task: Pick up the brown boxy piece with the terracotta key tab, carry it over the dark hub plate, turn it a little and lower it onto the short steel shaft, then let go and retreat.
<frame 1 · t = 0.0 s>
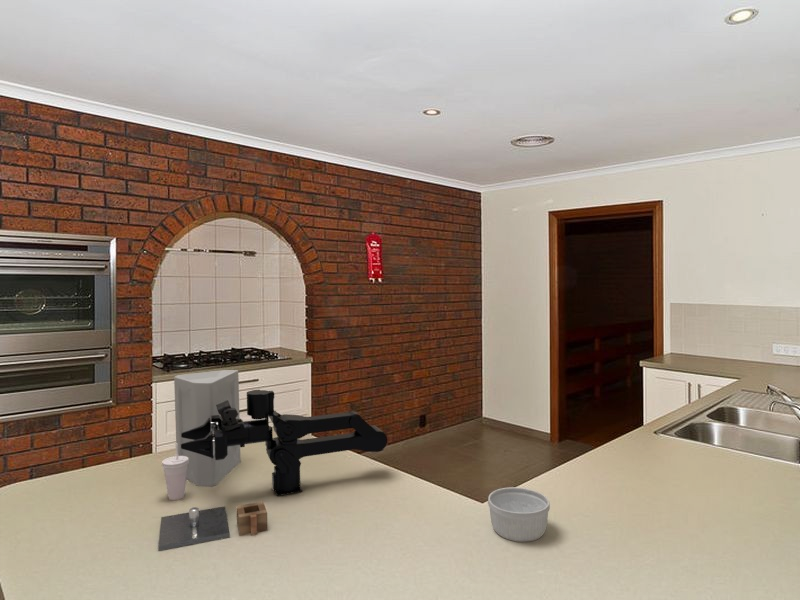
hand: (181, 440, 126), 17 cm above the countertop, tool horizontal, fingers open, 9 cm apart
ramekin: (518, 530, 115), on the countertop
brown boxy piece: (251, 526, 117), on the countertop
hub: (194, 528, 116), on the countertop
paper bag: (203, 473, 150), on the countertop
smoothie: (176, 497, 133), on the countertop
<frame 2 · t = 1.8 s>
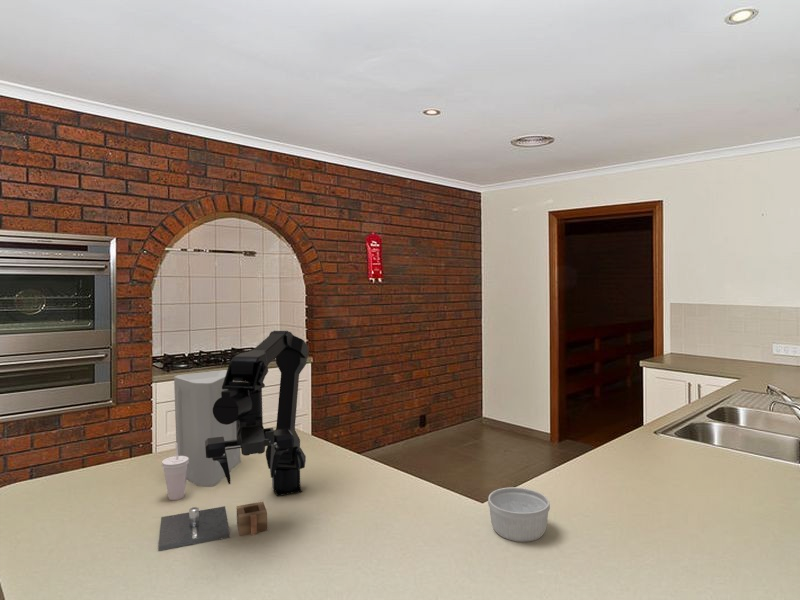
hand: (250, 480, 117), 11 cm above the countertop, tool pointing down, fingers open, 9 cm apart
nothing on the countertop moved.
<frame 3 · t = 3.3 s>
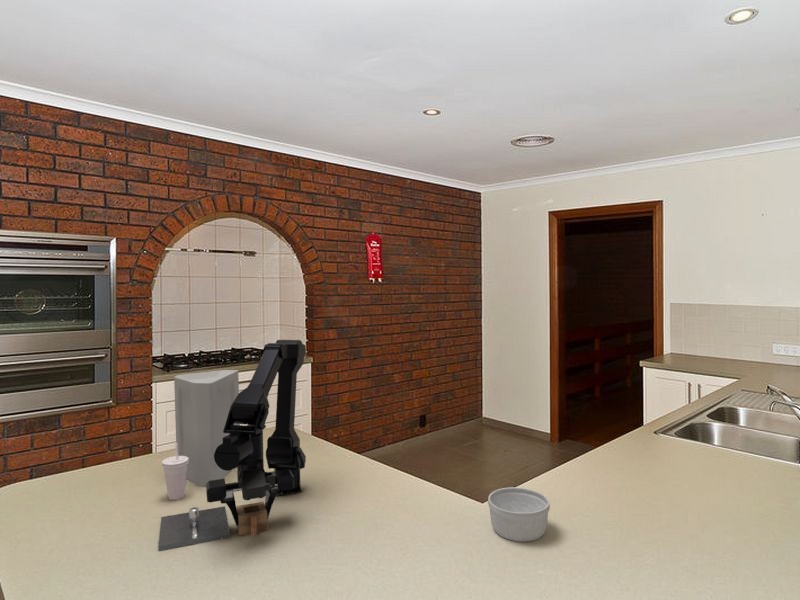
hand: (251, 522, 117), 1 cm above the countertop, tool pointing down, fingers closed on brown boxy piece, 6 cm apart
brown boxy piece: (251, 526, 117), on the countertop, touching gripper
everything else where it was.
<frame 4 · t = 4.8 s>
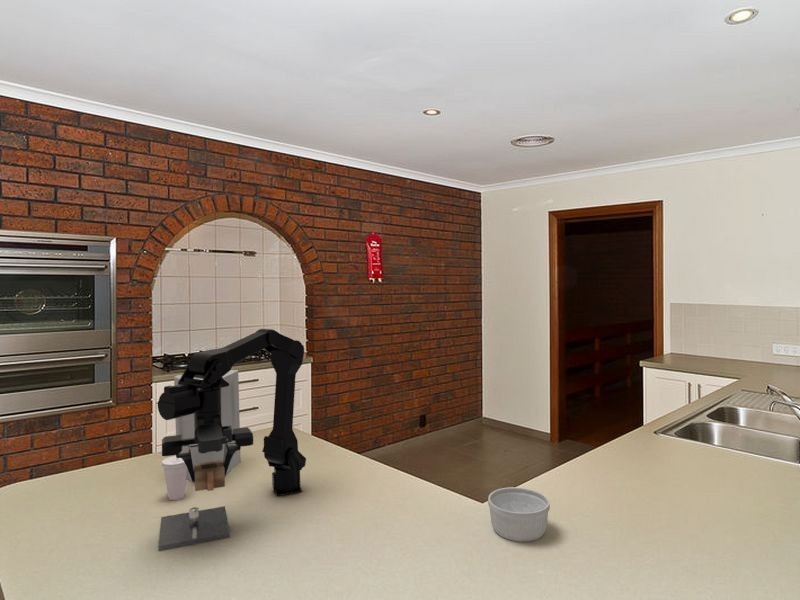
hand: (208, 479, 115), 11 cm above the countertop, tool pointing down, fingers closed on brown boxy piece, 6 cm apart
brown boxy piece: (209, 483, 115), point 10 cm above the countertop, touching gripper
everything else where it was.
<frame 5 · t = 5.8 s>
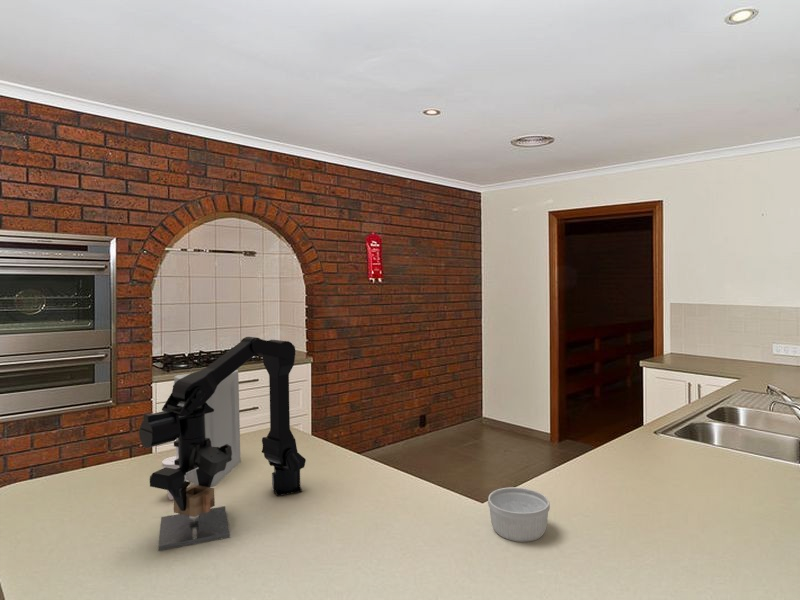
hand: (194, 504, 116), 6 cm above the countertop, tool pointing down, fingers closed on brown boxy piece, 6 cm apart
brown boxy piece: (194, 508, 116), point 5 cm above the countertop, touching gripper
everything else where it was.
when the fingers open (4 cm above the countertop, at t = 6.6 s): brown boxy piece drops 1 cm, resting on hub.
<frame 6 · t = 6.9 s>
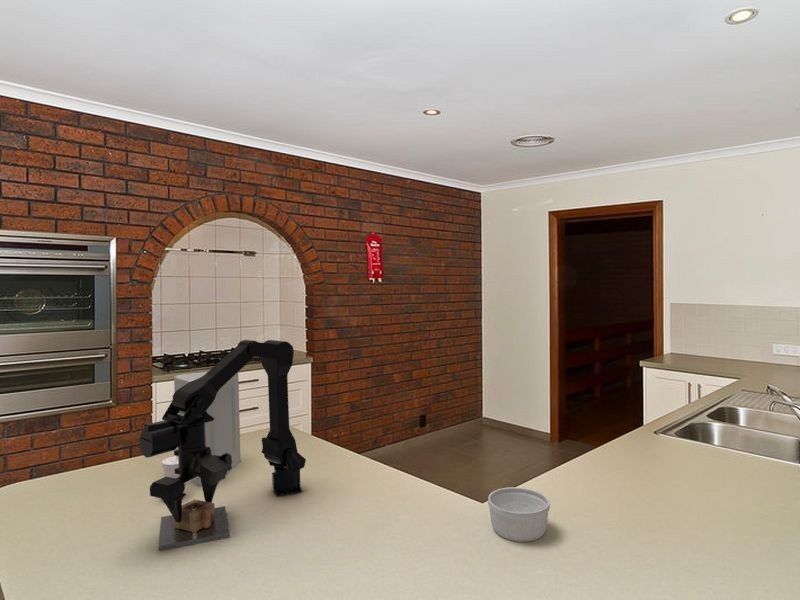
hand: (194, 513, 116), 4 cm above the countertop, tool pointing down, fingers open, 9 cm apart
brown boxy piece: (194, 524, 116), point 1 cm above the countertop, touching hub
everything else where it was.
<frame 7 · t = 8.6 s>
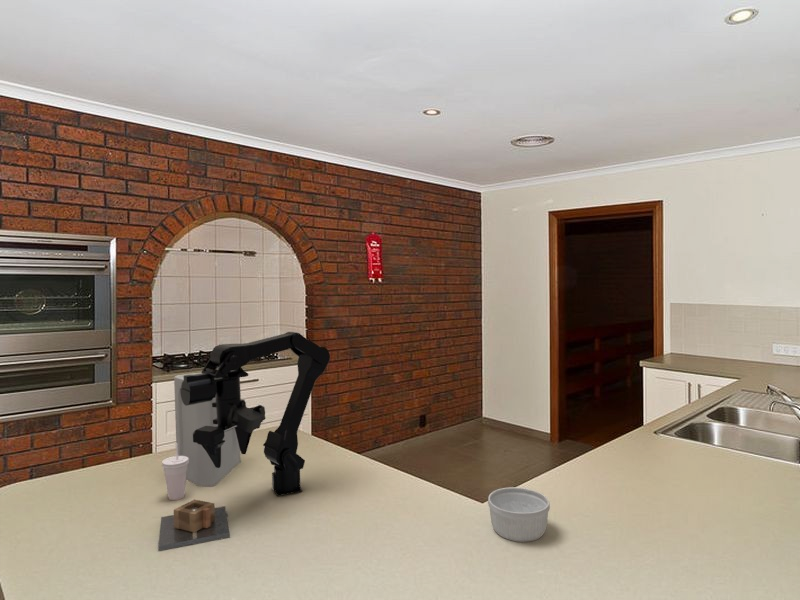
hand: (231, 460, 126), 12 cm above the countertop, tool pointing down, fingers open, 9 cm apart
nothing on the countertop moved.
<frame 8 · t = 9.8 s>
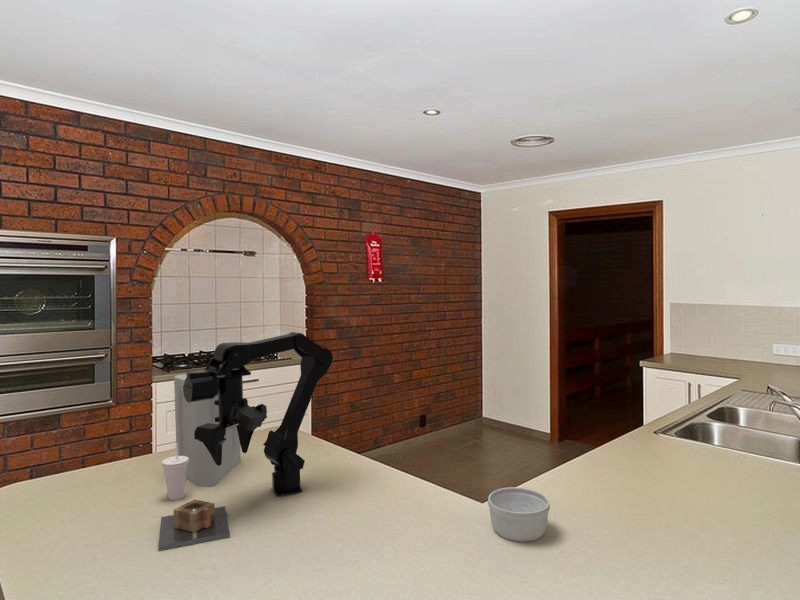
hand: (232, 458, 126), 12 cm above the countertop, tool pointing down, fingers open, 9 cm apart
nothing on the countertop moved.
at the end: brown boxy piece 0.1 cm off-centre on the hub, point 1.1 cm above the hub's base; the gripper is holding nothing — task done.
